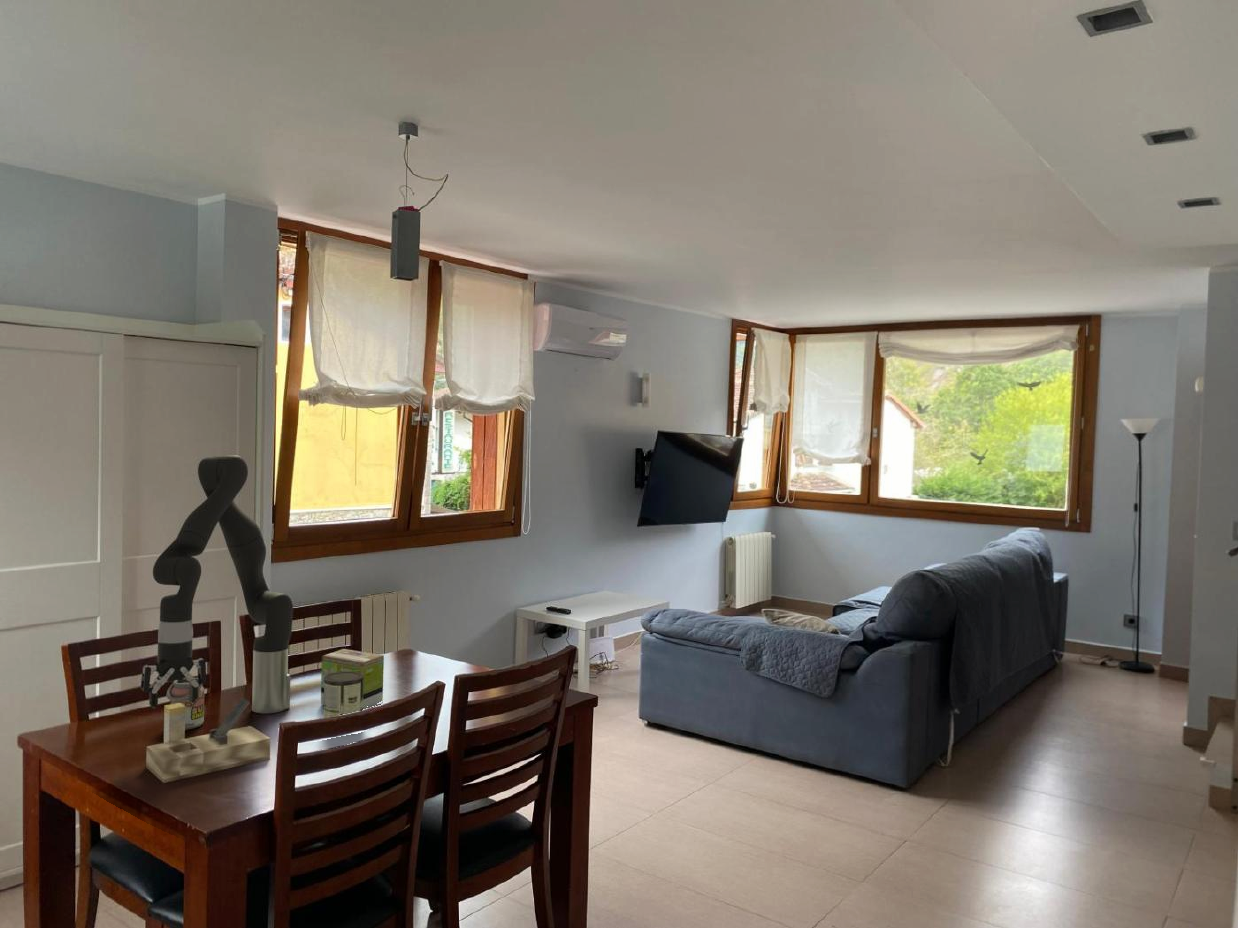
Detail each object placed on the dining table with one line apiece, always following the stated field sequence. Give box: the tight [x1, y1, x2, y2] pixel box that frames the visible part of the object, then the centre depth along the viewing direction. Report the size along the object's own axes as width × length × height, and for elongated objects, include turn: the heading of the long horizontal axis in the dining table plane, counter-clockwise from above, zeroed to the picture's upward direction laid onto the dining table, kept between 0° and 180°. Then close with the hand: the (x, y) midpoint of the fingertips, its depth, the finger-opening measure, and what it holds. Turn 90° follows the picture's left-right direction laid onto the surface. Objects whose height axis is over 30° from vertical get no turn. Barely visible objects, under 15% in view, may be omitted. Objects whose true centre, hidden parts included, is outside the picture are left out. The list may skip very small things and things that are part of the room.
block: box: [145, 725, 271, 784], centre depth 214 cm, size 24×12×7 cm, turn 134°
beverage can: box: [165, 677, 205, 731], centre depth 240 cm, size 9×8×12 cm
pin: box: [163, 703, 186, 743], centre depth 220 cm, size 4×4×12 cm
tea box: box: [320, 648, 385, 709], centre depth 263 cm, size 15×10×15 cm, turn 68°
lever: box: [212, 697, 251, 741], centre depth 217 cm, size 11×4×1 cm
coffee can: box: [323, 672, 364, 719], centre depth 242 cm, size 10×10×14 cm
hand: (173, 704), depth 220 cm, fingers open, 8 cm apart
